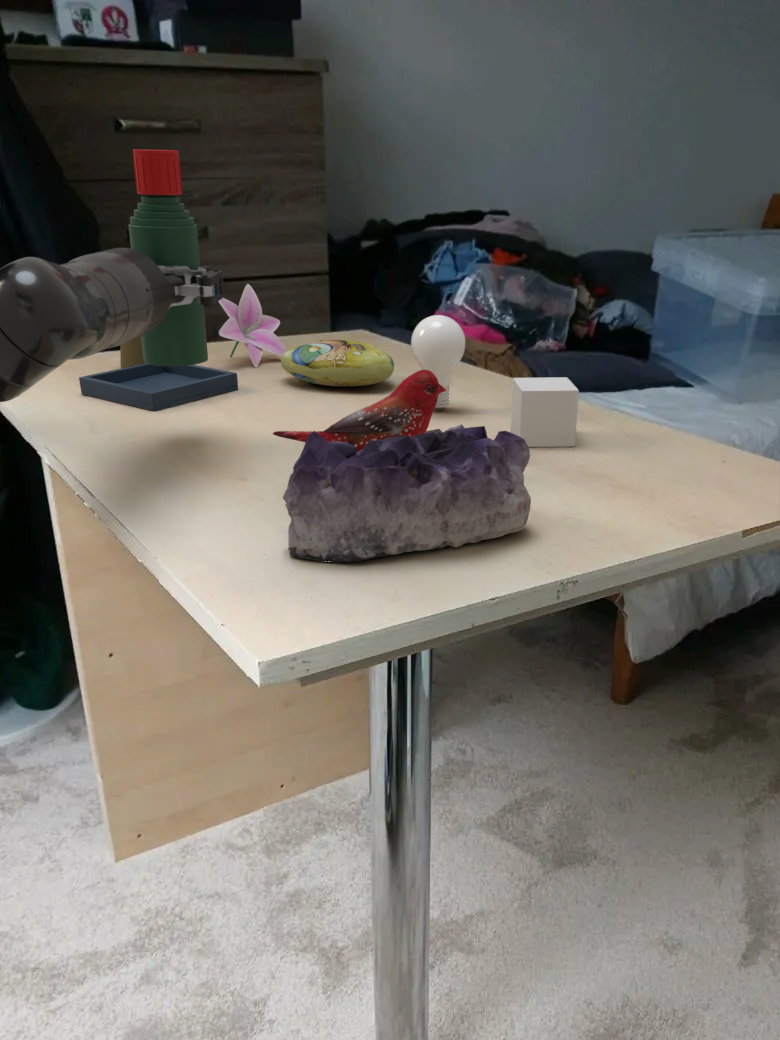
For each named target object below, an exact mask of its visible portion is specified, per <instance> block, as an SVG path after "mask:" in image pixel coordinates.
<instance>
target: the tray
mask: <svg viewBox="0 0 780 1040" xmlns="http://www.w3.org/2000/svg"><path fill="white" fill-rule="evenodd" d="M78 381H79V388H80V393H81V395H85V396H88V397H92V398H98V399H101V400H106V401H110V402H113V403H118V404H121V405H127V406H131V407H135V408H139V409H142V410H147V411H152V412H156V411H160V410H164V409H167V408H171V407H175V406H180V405H183V404H186V403H191V402H194V401H199V400H203V399H206V398H210V397H213V396H217V395H221V394H225V393H226V394H227V393H230V392H233V391H237V390H239V382H238V373H237V372H233V371H228V370H223V369H218V368H213V367H208V366H203V365H199V364H195V365H187V366H158V365H152V364H148V363H145V364H140V365H135V366H130V367H126V368H121V367H120V368H117V369H111V370H107V371H101V372H97V373H92V374H89V375H83V376H79V377H78Z"/></svg>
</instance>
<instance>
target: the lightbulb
mask: <svg viewBox="0 0 780 1040" xmlns="http://www.w3.org/2000/svg"><path fill="white" fill-rule="evenodd" d="M466 341H467V340H466V335H465V332H464V330H463V328H462V326H461V325H460V324H459V323H458V322H457V321H456V320H455V319H453V318H452V317H449V316H447V315H443V314H433V315H430V316H427V317H425V318H423V319H422V320H421V321H419V322H418V323H417V324H416V326H415V327H414V329H413V331H412V334H411V338H410V348H411V352H412V355H413V357H414V359H415V361H416V363H417V364H418V366H419V367H420V370H429V371H431V372H432V373H433V374H434V375H435V376H436V377H437V379H438V383H439V384H440V385H441V386H443V387H444V388H445V389H446V391H444V392H441V393H440V394H439V395H438V399H437V404H436V407H435V409H434V411H438V412H439V411H443V410H444V409H446V408H447V407H449V405H450V393H449V392H450V385H451V383H452V381H453V377H454V372H455V370H456V368H457V366H458V365H459V364H460V362H461V360H462V359H463V358H464V357H463V356H464V354H465V351H466V345H467V343H466Z"/></svg>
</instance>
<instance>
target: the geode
mask: <svg viewBox="0 0 780 1040" xmlns="http://www.w3.org/2000/svg"><path fill="white" fill-rule="evenodd" d="M530 458H531V451H530V447H528V445H527V443H526V441H525V439H523V438H521V437H520V436H517V435H515V434H513V433H511V431H507V430H501V431H498V432H497V434H496V436H495V438H494V439H492V438H490V437H488V433H487V429H486V426H485V425H480V426H470V427H465V426H464V425H463V423H460V424H458V425H455V426H453V427H449V428H446V430H444V431H443V430H442V429H440V428H436V429H429V430H426V432H425V433H424V434H419V435H415V436H412V437H409V436H402V435H399V436H396V437H389V438H386V439H383V440H381V439H379V440H378V441H377V442H376V441H374V440H370V441H369V442H368V443H367V444H366V446H365V447H364V448H363V450H361V451H358V452H356V447H355V446H354V445H351V444H349V443H347V442H340V441H334V442H328V441H326V440H325V439H324V438H323V437H322V436H321V435H319V434H318V433H317V432H316V430H313V431H312V433H311V434H310V435H309V436H308V438H307V439H306V442H304V445H303V448H302V450H301V453H300V455H299V456H298V459H297V460H296V461H295V463H294V464H293V468H292V472H291V474H290V475H289V480H288V482H287V486H286V489H285V491H284V493H283V496H282V499H283V501H284V502H285V508H286V510H287V514H288V516H289V517H290V522H289V525H288V533H287V535H288V539H287V540H288V548H287V550H288V551H289V556H290V557H293V558H297V559H305V560H311V561H312V560H313V561H318V562H321V561H327V562H328V561H332V562H331V563H359V562H362V561H365V560H370V559H376V558H380V557H386V556H394V555H399V554H400V555H401V554H403V553H412V552H420V551H428V550H438V549H439V550H440V549H443V548H445V547H447V546H449V547H453V548H459V547H458V546H460V547H462V546H463V545H464V544H477V543H479V542H480V541H482V540H490V539H496V538H500V537H503V536H504V535H508V534H512V533H513V534H514V533H517V532H521V531H523V530H524V529H525V526H526V524H527V522H528V520H529V515H530V511H531V505H532V504H531V502H532V500H531V495H530V493H529V491H528V489H527V488H526V486H525V475H524V472H525V469H526V468H527V466H528V464H529V461H530ZM328 563H329V562H328Z"/></svg>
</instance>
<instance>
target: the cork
mask: <svg viewBox="0 0 780 1040" xmlns="http://www.w3.org/2000/svg"><path fill="white" fill-rule="evenodd" d="M119 347H120V349H119V351H120V353H119V355H120V369H121V368H126V367H130V366H135V365H140V364H145V363H146V362H144V359H143V350H142V341H141V336H140V337H137V338H135V339H133V340H131V341H129V342H127V343H125V344H122V345H120V346H119Z"/></svg>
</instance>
